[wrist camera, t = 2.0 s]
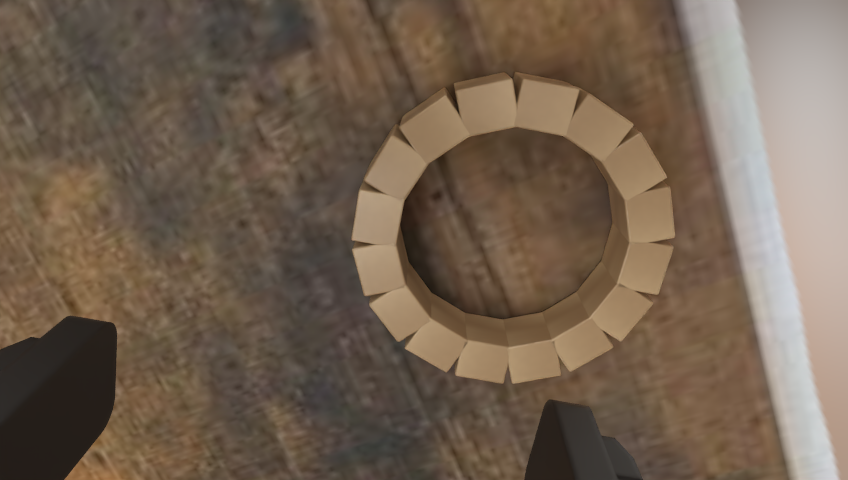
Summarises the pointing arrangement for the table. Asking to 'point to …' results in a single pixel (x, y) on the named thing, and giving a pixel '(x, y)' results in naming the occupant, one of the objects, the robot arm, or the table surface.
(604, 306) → the ring
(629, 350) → the table surface
